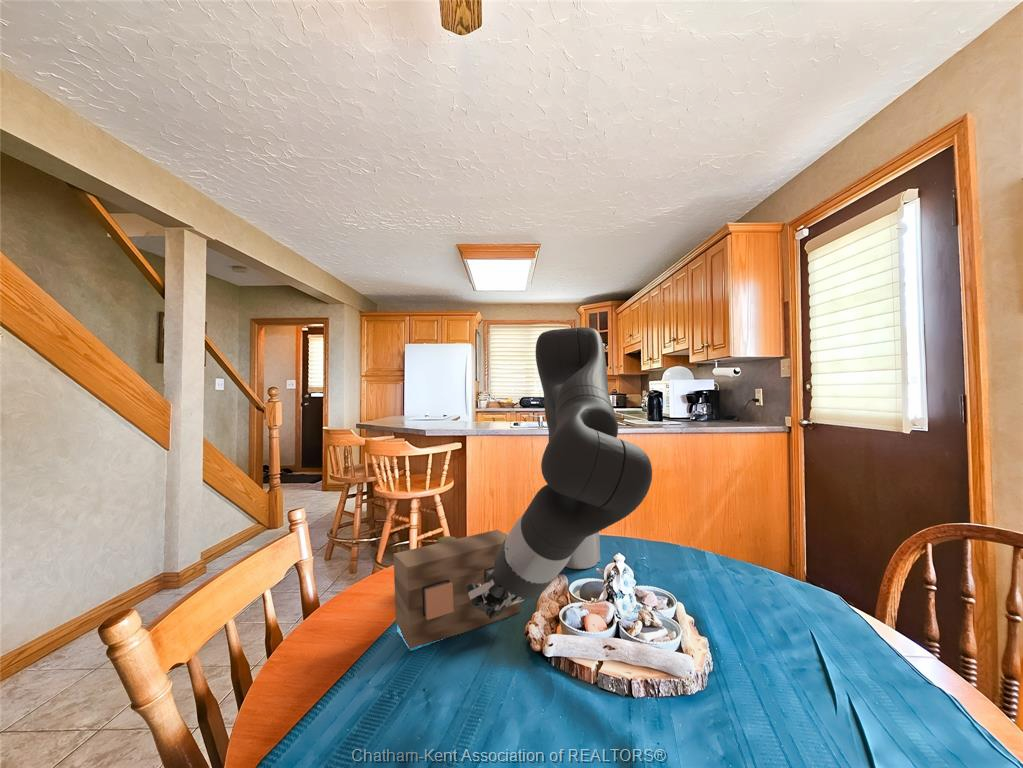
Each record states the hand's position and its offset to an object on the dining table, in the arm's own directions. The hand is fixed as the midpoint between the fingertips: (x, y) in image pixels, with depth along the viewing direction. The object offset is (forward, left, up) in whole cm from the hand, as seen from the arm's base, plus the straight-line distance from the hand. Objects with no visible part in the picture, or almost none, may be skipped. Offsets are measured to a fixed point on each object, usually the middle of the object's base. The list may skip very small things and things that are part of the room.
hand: (491, 610), depth 62 cm
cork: (-8, -35, -11) cm, 37 cm away
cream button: (-10, -14, -6) cm, 18 cm away
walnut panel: (-4, -20, -11) cm, 23 cm away
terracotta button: (+2, -18, -6) cm, 19 cm away
